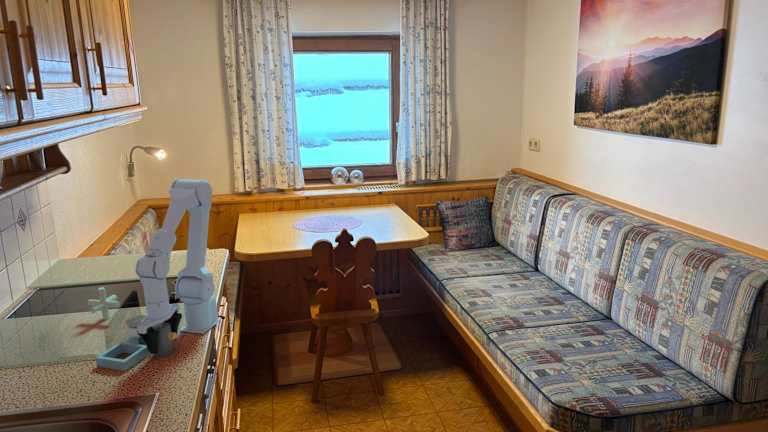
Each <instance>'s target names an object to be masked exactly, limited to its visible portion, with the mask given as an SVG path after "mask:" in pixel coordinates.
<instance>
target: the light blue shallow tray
mask: <svg viewBox="0 0 768 432" xmlns="http://www.w3.org/2000/svg"><path fill="white" fill-rule="evenodd" d="M122 353H127V354H130V355H129V356H127V357H126V358H124V359H121V358H116V357H118V356H119V355H120V354H122ZM132 353H133V354H132ZM150 354H151V353H150V352H149V350H148V348H147V346H146V345H140V344H133V343H127V342H125V341H119V343H117V344H115V345H113V346H112V347H111V348H109V349H107V350H106V351H104V352H102V353H101V354H99V355H97V356H96V357H95V362H96V366H97V367H99V368H106V369H111V370H116V371H117V370H118V371H124V372H127V371H128V370H130V369H131V368H133V366H135V365H137V364H138V363H139V362H141V361H142V360H143V359H145V358H147V357H148V356H149V355H150Z"/></svg>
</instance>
